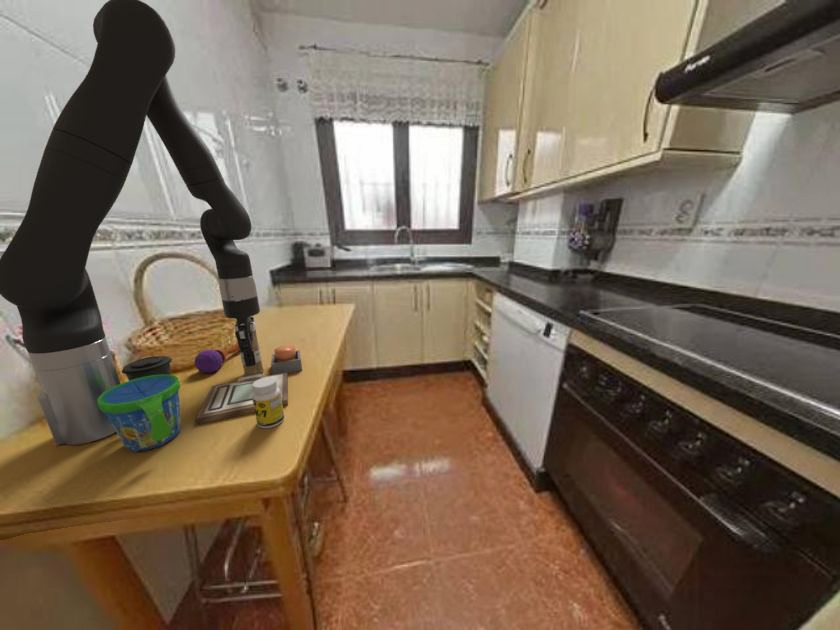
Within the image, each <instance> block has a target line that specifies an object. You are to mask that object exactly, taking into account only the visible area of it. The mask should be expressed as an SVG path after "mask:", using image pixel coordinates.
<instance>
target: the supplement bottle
mask: <svg viewBox="0 0 840 630" xmlns="http://www.w3.org/2000/svg"><path fill="white" fill-rule="evenodd" d="M252 386H253V392H254V393H253V395H252V399H253V404H254V410H255V412H254V415H255V419H256V424H257V426H258V427H259V428H262V429H271V428H275V427H277V426H278V425H280V424H281V423H283V422H284V420H285V413H284V406H283V405H282V399H281V393H280V389H279V388H278V387H277V382H276V379H275V378H272V377H267V378H262V379H259V380H257V381H255V382H254V383H253V385H252Z"/></svg>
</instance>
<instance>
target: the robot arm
mask: <svg viewBox="0 0 840 630" xmlns="http://www.w3.org/2000/svg"><path fill="white" fill-rule="evenodd" d="M93 19H94V20H93V23H92V28H93V30H92V31H93V35H94V38H95V41H96V43H97V44H96V49H95V52H94V56H93V60H92V62H91V64H90V68H89V70H88V72H87V74H86V75H85V77H84V79H83V80H82V82H81V83H80V84H79V86H78V87H77V88H76V89H75V91H74V92H73V93H72V95H71V96H70V98H68V101H67V103H66V104H65V105H64V107H63V109H62V110H61V112H60V113H59V116H58V118H57V119H56V121H55V123H54V126H53V127H52V130H51V132H50V135H49V137H48V139H47V142H46V145H45V147H44V151H43V153H42V157H41V159H40V164H39V166H38V168H37V169H38V170H37V172H36V177H35V179H34V183H33V187H32V191H31V194H30V200H29V202H28V203H29V204H28V208H27V210H26V212H25V215H24V217H23V219H22V221H21V222H20V223H21V224H20V225H19V227H18V228H17V230H16V232H15V234H14V236H13V237H12V239H11V240H10V241H9V243H8V245H7V247H6V248H5V250H4V252H3V253H2V255H1V256H0V296H1V297H2V298H3V299H5V300H6V301H8V302H9V303H10V304H13V305H14V306H16V308H17V310H18V314H19V317H20V320H21V327H22V333H21V334H22V336H21V338H22V342H23V344H24V346H25V349H26V351H27V354H28V356H29V359H30V363H32V367H33V369H34V372H35V374H36V377H37V379H38V381H39V382H38V383H39V384H40V386H41V389H42V392H41V393H40V394H39V395H38V396H37V401H38V403H39V407H40V408H41V411H42V413H43V416H44V418H45V421H46V424H47V426H48V429H49V431H50V434H51V436H52V439H53V440H54V444H55V445H56V446H59V445H69V446H70V445H71V446H76V445H83V444H89V443H91V442H96V441H98V440H101V439H104V438H107V437H108V436H111V435H113V434H115V433H117V432H116V431H115V429H114V427H113V426H112V424H111V422H110V421H109V419H108V417H107V415H106V414H105V413H104V412H102V411H101V410H100V409H99V407H98V403H97V399H98V397H99V396H100V395H101V394H102V393H104V392H105V391H107V390H108V389H110V388H112V387H114V386H117V385H119V384H122V383H121V381H120V377H119V374H118V372H117V371H118V370H117V369H116V365H115V361H114V359H113V355H112V352H111V350H110V347H109V343H108V341H107V337H106V333H105V331H104V325H103V321H102V320H103V319H102V315H101V310H100V308H99V305H98V301H97V299H96V294H95V291H94V287H93V285H92V281H91V278H90V274H89V273H88V271H87V269H86V267H87V263H88V258H89V255H90V254H89V253H90V250H91V247H92V243H93V239H94V237H95V235H96V232H97V230H98V229H99V227H100V225H101V224H102V222H103V221H104V219H105V218H106V216H107V215H108V213H109V212H110V211H111V209H112V207H113V206H114V204H115V203H116V201H117V199H118V197H119V195H120V194H121V192H122V190H123V187H124V186H125V183H126V181H127V178H128V176H129V173H130V170H131V167H132V165H133V162H134V159H135V156H136V152H137V149H138V146H139V144H140V140H141V136H142V135H143V134H142V133H143V129H144V127H145V122H146V119H148V121H149V122H150V123H151V125H152V126H153V128H154V130H155V131H156V133H157V135H158V137H159V138H160V140H161V142H162V143H163V145H164V147H165V149H166V151H167V152H168V154H169V156H170V158H171V160H172V162H173V163H174V166H175V167H176V169H177V171H178V173H179V175H180V177H181V179H182V181H183V182H184V184H185V186H186V187H187V190H188V191H189V193H190V194H191V195H192V197H194V198H195V199H198V200H201V201H203V202H205V203H207V204H208V206H209V207H210V208H208V209H206V210H205V211H204V212H202V213H201V216H200V221H199V227H200V232H201V234H202V236H203V238H204V241H205V243H206V246H207V247H208V249H209V252H210V253H211V256H212V257H213V259H214V260H215V268H216V272H217V277H218V286H219V287H218V288H219V294H220V299H221V304H222V307H223V308H222V309H223V312H224V317H225V318H226V319H227V318H228V319H235V320H236V322H235V324H234V326H235V327H234V332H235V331H236V332H235V333H234V334H235V337H236V341H237V343H238V345H239V349H240V351H239V353H240V352H241V353H243V355H244V360H245V365H246V366H247V367H248V366H254V365H255V364H256V361H255V356H254V348H253V341H254V340H255V339H254V332H253V329H254V324H253V323H250V322H255V318H254V316H256V315H258V314H260V311H261V308H260V303H259V297H258V292H257V291H258V290H257V286H256V283H255V279H254V275H253V270H252V265H251V259H250V255H249V254H248V253H247V252H245V251H244V250H240V249H238V247H237V246H236V243H235V241H241V240H245V239H247V238H248V237H250V234H251V231H252V220H251V217H250V216H249V214H248V212H247V210H246V208H245V207H244V206H243V205H242V203H241V202H240V201H239V199H238V198H237V196H236V195H235V194H234V192H233V191H232V190H231V189H230V188H229V186H228V185H227V184H226V182H225V179H224V177H223V174H222V173H221V171H220V169H219V167H218V164H217V162H216V159H215V158H214V156H213V154H212V152H211V150H210V149H209V147H208V145H207V144H206V142H205V140H204V139H203V138H202V137H201V135H200V134H199V133H198V131H197V130H196V128H195V127H194V125H193V124H192V122H190V120H189V119H188V118H187V116H186V114H185V113H184V111H183V110H182V108H181V106H180V104H179V103H178V101H177V98H176V97H175V94H174V92H173V90H172V88H171V86H170V83H169V80H168V76H167V75H168V74H167V73H168V72H169V71H170V69H171V68H172V66H173V65H174V63H175V58H176V43H175V40H174V36H173V34H172V32H171V30H170V27H169V26H168V24H167V22H166V20H164V18H163V16H161V14H160V13H159V12H158V11H156V10H155V9H154V8H153V7H152V6H150V5H149V4H147V3H146V2H144V1H141V0H108V1H106V2H105V3H104V4H103V5H102V7H101V8H100V9H99V10H98V12H97V13H96V15H95V16H94V18H93ZM255 323H256V322H255ZM236 324H237V325H236ZM250 336H251V338H250ZM245 344H248V346H249V347H244V345H245Z"/></svg>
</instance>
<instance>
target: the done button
mask: <svg viewBox="0 0 840 630" xmlns="http://www.w3.org/2000/svg"><path fill="white" fill-rule="evenodd" d="M296 351H297V350H296V346H294V345H282V346H278V347H276V348H275V349H274V354H275V358H276V360H277V362H283V361H289V360H295V356H296Z"/></svg>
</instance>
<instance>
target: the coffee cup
mask: <svg viewBox="0 0 840 630" xmlns="http://www.w3.org/2000/svg"><path fill="white" fill-rule="evenodd" d="M171 363H172V358H171V357H170V356H166V355H157V356H156V355H155V356H154V355H153V356H149V357H148V356H147V357H143V358H139V359H137V360H134V361H132V362H130V363H127V364H126V365H124V366H123V368H122V370H121V373H122V374H125V375H126V377H127V379H128V381H130V380H134V379H137V378H141V377H146V376H151V375H160V374H169V375H172V371H171Z"/></svg>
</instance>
